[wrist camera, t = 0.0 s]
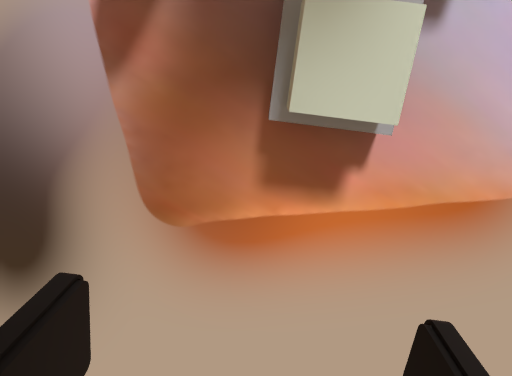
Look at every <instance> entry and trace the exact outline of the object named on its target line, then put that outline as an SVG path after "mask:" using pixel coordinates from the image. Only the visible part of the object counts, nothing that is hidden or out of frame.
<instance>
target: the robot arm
mask: <svg viewBox="0 0 512 376" xmlns="http://www.w3.org/2000/svg"><path fill="white" fill-rule="evenodd" d="M89 314H90V313H89V284H88V282H87V281H84V280H83V277H82V276H81V275H77V274H69V273H58V274H57V275H55V276H54V277H53V278H52V279H51V280H50V281H49V282H48V283H47V284H46V285H45V286H44V287H43V288H42V289H40V290H39V291H38V292H37V293H36V294H35V295H34V296H33V297H32V298H31V299H30V300H29V301H28V302H26V303H25V305H23V306H22V307H21V308H20V309H19V310H18V311H17V312H16V313H15V314H14V315H13V316H12V317H10V319H8V320H7V321H6V322H5V323H4V324H3V325H2V326H1V327H0V376H84V375H85V373H86V371H87V370H88V367H89V364H90V359H91V350H90V315H89ZM403 376H489V374H488V373H487V371H486V370H485V369H484V367H483V366H482V365H481V363H480V362H479V360H478V359H477V358H476V356H475V355H474V354H473V352H472V351H471V349H470V348H469V347H468V345H467V344H466V343H465V341H464V340H463V338H462V337H461V336H460V334H459V333H458V332H457V330H456V329H455V327H454V326H453V325H452V324H451V323H450V322H445V321H437V320H426V321H425V323H424V324H420V325H419V326H418V329H417V332H416V335H415V338H414V342H413V345H412V348H411V351H410V354H409V358H408V361H407V364H406V367H405V370H404V374H403Z"/></svg>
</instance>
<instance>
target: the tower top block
mask: <svg viewBox="0 0 512 376" xmlns="http://www.w3.org/2000/svg"><path fill="white" fill-rule="evenodd" d="M426 7H427V5H425V4H417V3H409V2H402V1H394V0H302V2H301V9H300V16H299V23H298V30H297V37H296V44H295V51H294V58H293V65H292V72H291V79H290V86H289V93H288V100H287V109H288V111H289V112H296V113H304V114H312V115H319V116H327V117H335V118H343V119H351V120H359V121H366V122H374V123H382V124H390V125H398V123H399V119H400V114H401V110H402V106H403V102H404V98H405V94H406V90H407V85H408V81H409V77H410V73H411V69H412V65H413V61H414V56H415V52H416V48H417V44H418V40H419V36H420V32H421V27H422V23H423V19H424V15H425V11H426Z"/></svg>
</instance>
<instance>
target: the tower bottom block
mask: <svg viewBox="0 0 512 376" xmlns="http://www.w3.org/2000/svg"><path fill="white" fill-rule="evenodd" d="M394 1H402V2H409V3H417V4H423V2H424V0H394ZM301 2H302V0H284V2H283V10H282V18H281V25H280V33H279V41H278V48H277V56H276V64H275V71H274V79H273V87H272V94H271V102H270V110H269V120H274V121H281V122H289V123H297V124H305V125H313V126H321V127H328V128H336V129H344V130H352V131H360V132H368V133H375V134H383V135H391V136H392V132H393V128H394V125H390V124H382V123H374V122H366V121H359V120H351V119H343V118H335V117H327V116H319V115H312V114H304V113H296V112H289V111H288V109H287V100H288V93H289V86H290V79H291V72H292V65H293V58H294V51H295V44H296V37H297V30H298V23H299V16H300V9H301Z"/></svg>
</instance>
